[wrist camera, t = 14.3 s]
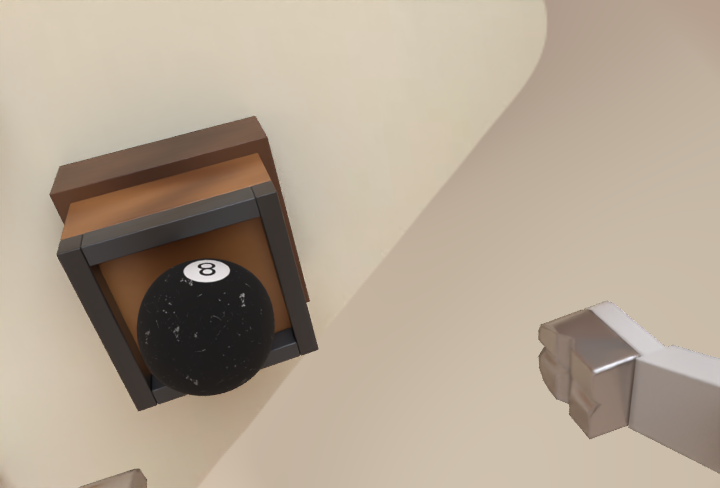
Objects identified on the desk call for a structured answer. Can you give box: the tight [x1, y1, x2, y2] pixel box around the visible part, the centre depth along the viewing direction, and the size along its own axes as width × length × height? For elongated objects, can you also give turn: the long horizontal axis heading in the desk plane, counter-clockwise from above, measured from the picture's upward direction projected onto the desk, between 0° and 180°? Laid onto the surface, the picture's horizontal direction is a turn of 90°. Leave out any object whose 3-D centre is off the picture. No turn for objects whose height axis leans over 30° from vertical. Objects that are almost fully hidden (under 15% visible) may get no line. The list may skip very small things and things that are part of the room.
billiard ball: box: [137, 258, 275, 396], centre depth 26 cm, size 6×6×6 cm
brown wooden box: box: [50, 116, 318, 411], centre depth 31 cm, size 11×11×9 cm
